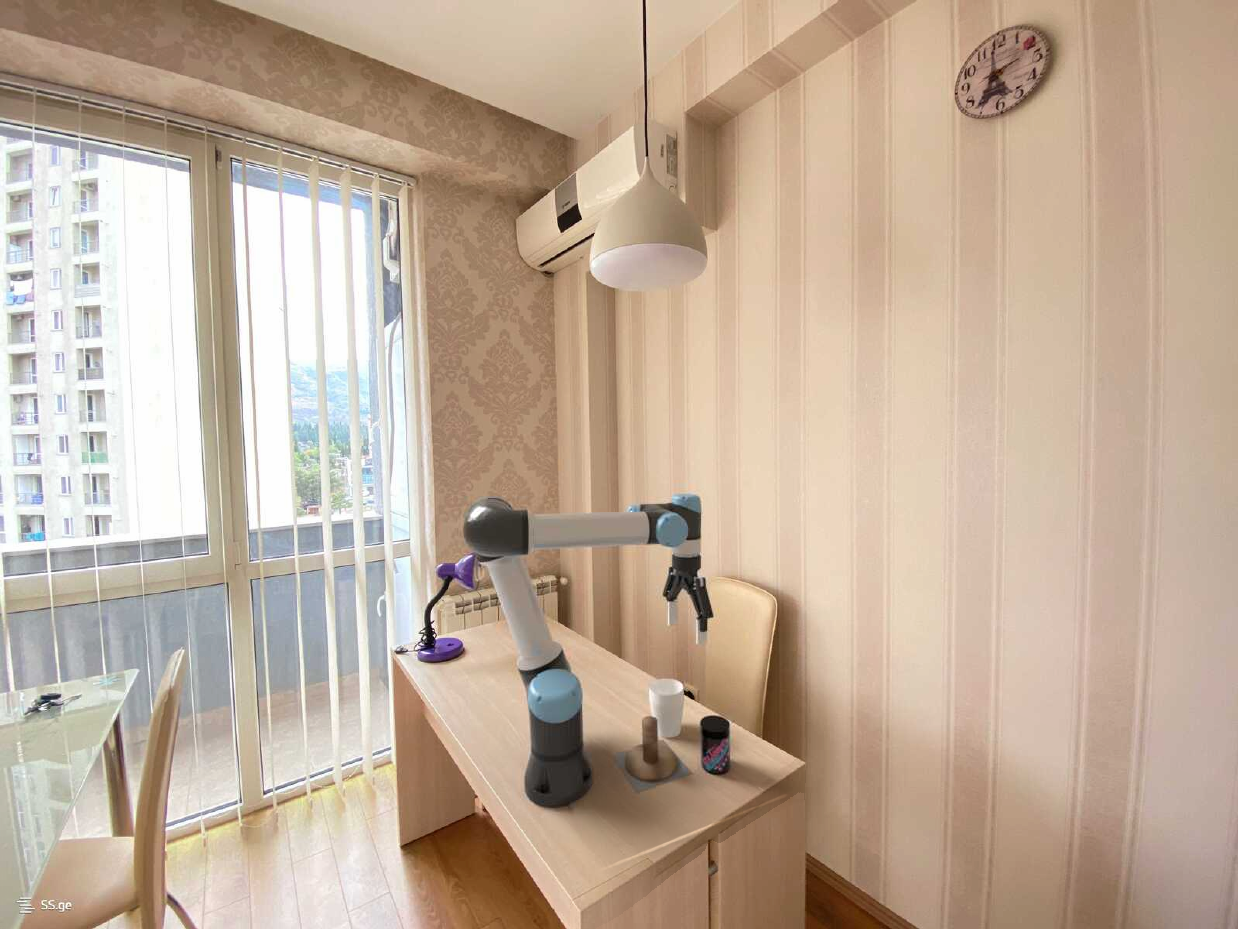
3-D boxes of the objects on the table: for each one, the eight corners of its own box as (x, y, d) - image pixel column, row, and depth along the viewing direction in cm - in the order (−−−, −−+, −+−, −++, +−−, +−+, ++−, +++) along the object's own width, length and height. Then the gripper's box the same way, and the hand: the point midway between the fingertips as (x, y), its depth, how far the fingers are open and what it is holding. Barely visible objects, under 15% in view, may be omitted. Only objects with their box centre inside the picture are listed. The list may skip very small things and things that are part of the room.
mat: (636, 794, 109) (636, 792, 109) (611, 757, 121) (611, 755, 121) (692, 775, 114) (692, 773, 114) (662, 741, 127) (662, 739, 127)
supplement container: (695, 770, 116) (694, 726, 115) (708, 754, 121) (707, 712, 121) (723, 781, 112) (722, 735, 111) (735, 764, 117) (734, 720, 117)
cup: (683, 743, 126) (682, 697, 125) (647, 740, 127) (646, 694, 127) (686, 723, 134) (685, 679, 134) (652, 720, 136) (651, 677, 135)
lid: (639, 788, 110) (637, 742, 109) (616, 756, 121) (615, 714, 120) (686, 772, 115) (685, 727, 114) (661, 742, 126) (660, 701, 125)
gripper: (728, 562, 122) (727, 648, 123) (673, 543, 145) (673, 616, 146) (702, 566, 119) (702, 654, 120) (650, 545, 141) (650, 620, 143)
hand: (686, 633), depth 133 cm, fingers open, 13 cm apart
